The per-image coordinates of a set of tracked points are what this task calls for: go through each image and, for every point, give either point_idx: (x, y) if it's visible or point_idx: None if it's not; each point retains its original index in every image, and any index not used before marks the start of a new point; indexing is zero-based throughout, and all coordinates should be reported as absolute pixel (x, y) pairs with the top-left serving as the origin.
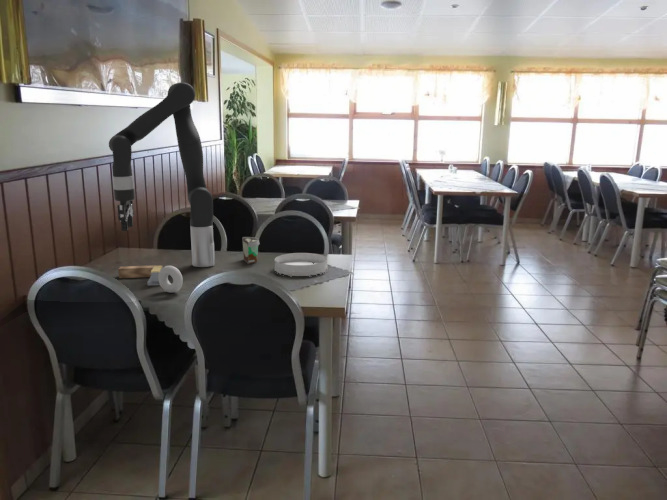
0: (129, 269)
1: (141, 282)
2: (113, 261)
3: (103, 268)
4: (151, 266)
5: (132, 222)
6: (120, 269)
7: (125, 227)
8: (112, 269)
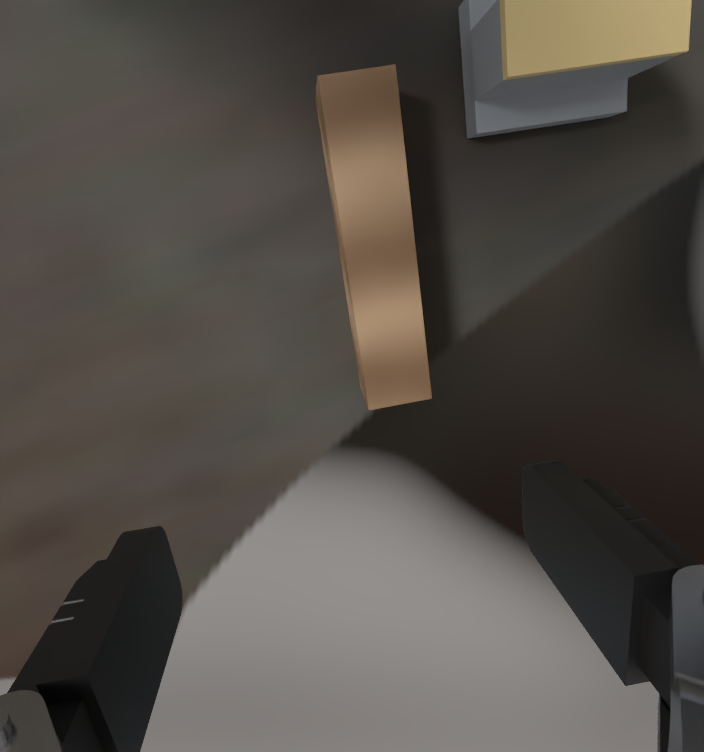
0: (422, 323)
1: (528, 190)
2: (12, 576)
3: (200, 557)
4: (361, 165)
5: (123, 577)
6: (429, 383)
7: (625, 503)
8: (217, 498)
